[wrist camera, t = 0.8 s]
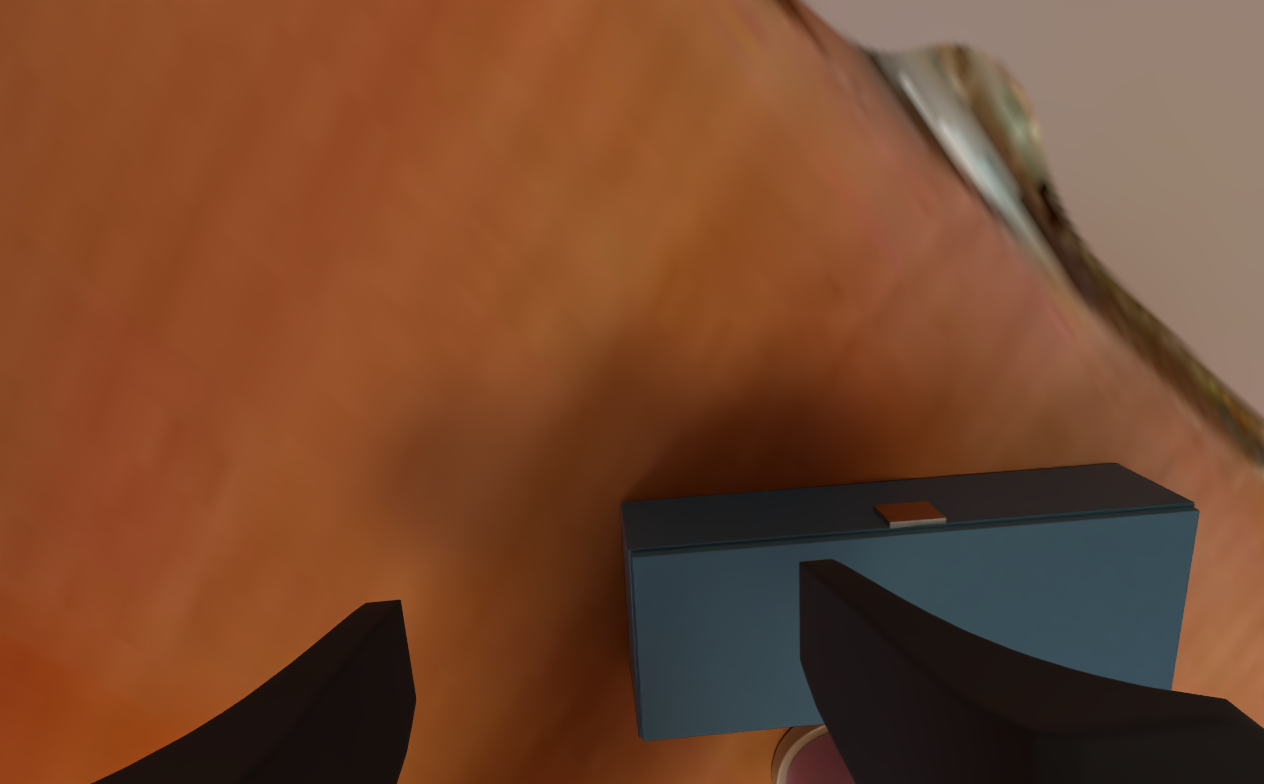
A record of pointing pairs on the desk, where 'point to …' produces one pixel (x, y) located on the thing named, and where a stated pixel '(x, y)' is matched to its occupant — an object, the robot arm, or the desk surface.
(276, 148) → the desk surface
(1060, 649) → the pencil box
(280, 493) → the desk surface
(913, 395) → the desk surface
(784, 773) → the spool
